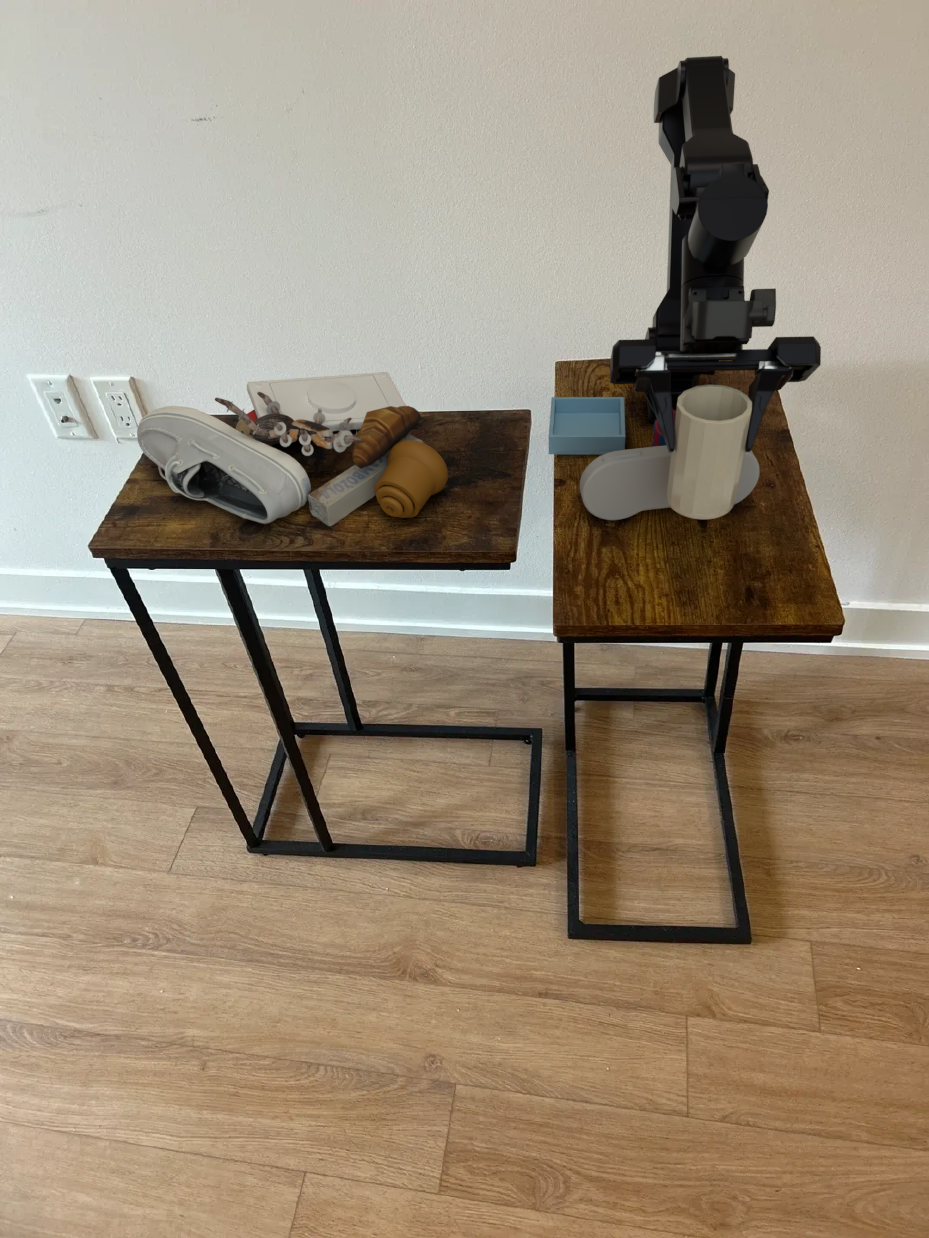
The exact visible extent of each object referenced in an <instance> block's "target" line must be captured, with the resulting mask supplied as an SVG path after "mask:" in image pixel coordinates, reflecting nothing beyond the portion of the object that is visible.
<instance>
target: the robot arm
mask: <svg viewBox="0 0 929 1238" xmlns="http://www.w3.org/2000/svg"><path fill="white" fill-rule="evenodd" d="M735 85H736V73H735V72H734V71H733V70H732V69H730V61H729V58H728V57H725V58H724V57H723V56H722V55H713V56H712V55H711V56H710V55H709V56H693V57H691V56H690V57H686V58H685V59H684V60H679V62H678V65H677V67H675V68H674V69H672V70H670V71H668V72H666V73H665V74H663V75H660V76H659V78H658V79H657V83H656V86H655V91H654V97H653V99H654V100H653V124H658V139H657V141H658V145H659V147H660V149H661V150H662V152H663V155H665V157H666V159H667V161H668V162H669V164H670V181H669V183H670V184H669V185H670V186H669V216H668V244H667V272H666V273H667V274H666V292H665V295H664V296H663V298H662V300H661V301H660V303H659V305H658V307H657V308H656V310H655V312H654V314H653V315H652V326H651V327H647V330H646V334H645V337H644V338H642V339H639V338H638V339H618V340H617V342H615V343H614V344H613V346H612V347H611V348H612V349H611V355H610V366H609V383H610V384H613V385H634V387H633V389H634V390H633V391H634V392H635V393H643V394H644V396H645V397H646V406H647V407H646V408H647V421H648V423H649V424H650V423H651V424H654V422H655V420H656V419H657V420H658V423H659V425H660V428H661V431H662V434H663V437H664V440H665V442H666V445H667V448H668V451H669V452H673V451H674V444H675V430H674V420H673V410H672V408H673V409H674V411H675V410H676V409H677V401H678V397H679V396H680V395H681V394H682V393H683V392H684V391H686V390H688V389H690V388H693V387H696V386H700V383H701V376H703V375H704V376H705V375H706V376H707V375H709V376H715V373H716V372H729V371H730V372H733V371H754V379H753V381H752V382H751V383H750V384H749V386H748V394H747V396H748V398H749V399H750V400H751V402H752V412H751V417H750V423H749V428H748V434H747V439H746V445H745V452H750V451H752V449H753V447H754V444H755V441H756V438H757V434H758V432H759V429H760V426H761V424H762V421H763V418H764V414H765V413H766V410H767V408H768V405H769V403H770V401H771V398H772V397H773V394H774V392H776V391H777V392H778V391H780V390H782V389H783V388H784V386H785V385H787V383H800V382H805V381H807V380H808V379H809V378H810V377H811V376H812V374H813V373H814V372H815V371H817V369H818V368H819V367H820V366H821V365H822V364H821V361H822V359H821V358H822V357H821V356H822V355H821V354H822V352H821V351H822V347H821V345H820V342H819V341H818V340H817V339H816V337H815V336H776V337H775V338H774V339H773V341H772V342H771V343H770V345H769V346H768V347H767V348H757V349H753V348H752V349H751V348H750V349H746V348H745V349H744V347H743V346H744V345H748V343H749V341H750V339H752V337H753V328H767V327H770V328H771V327H772V328H773V326H774V325H775V321H776V312H777V311H776V310H777V289H776V288H753V289H751V291H750V294H749V300H745V299H746V298H745V297H746V296H745V258H746V257H747V255H748V254H749V253H750V250H751V249H752V246H753V244H754V242H755V241H756V238H757V236H758V234H759V232H760V230H761V227H763V223H764V221H765V220H766V217H767V215H768V209H769V202H768V201H769V194H770V190H769V187H768V185H767V184H766V181H765V180H764V178H763V176H762V175H761V172H760V167H759V164H758V163H754V158H753V154H752V151H751V147H750V144H749V142H748V141H747V140H746V139H744V138H743V137H741V136H739V135H736V134H735V133H734V131H733V123H732V118H731V117H732V116H731V115H732V113H733V112H734V103H735V101H734V100H735V87H736V86H735Z"/></svg>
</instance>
